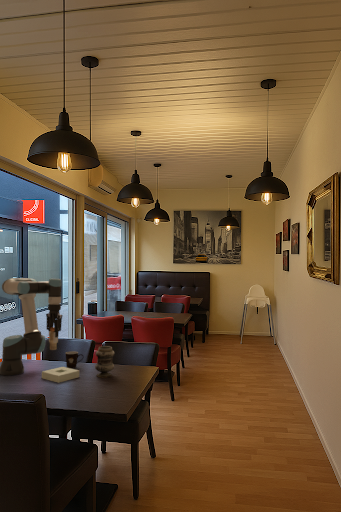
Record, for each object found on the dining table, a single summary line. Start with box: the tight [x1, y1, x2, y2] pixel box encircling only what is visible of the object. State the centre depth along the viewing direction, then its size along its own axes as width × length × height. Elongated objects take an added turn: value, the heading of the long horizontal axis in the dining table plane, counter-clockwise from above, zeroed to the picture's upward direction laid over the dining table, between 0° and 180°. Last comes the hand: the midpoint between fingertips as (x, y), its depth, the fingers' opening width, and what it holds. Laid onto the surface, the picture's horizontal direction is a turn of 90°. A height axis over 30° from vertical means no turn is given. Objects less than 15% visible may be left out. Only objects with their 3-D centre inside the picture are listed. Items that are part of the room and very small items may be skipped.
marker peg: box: [49, 326, 57, 351], centre depth 227 cm, size 4×4×13 cm
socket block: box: [41, 366, 80, 384], centre depth 231 cm, size 16×16×4 cm
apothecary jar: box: [94, 345, 115, 379], centre depth 238 cm, size 12×12×18 cm
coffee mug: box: [65, 351, 85, 369], centre depth 257 cm, size 12×9×10 cm
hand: (53, 342), depth 227 cm, fingers closed on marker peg, 4 cm apart
